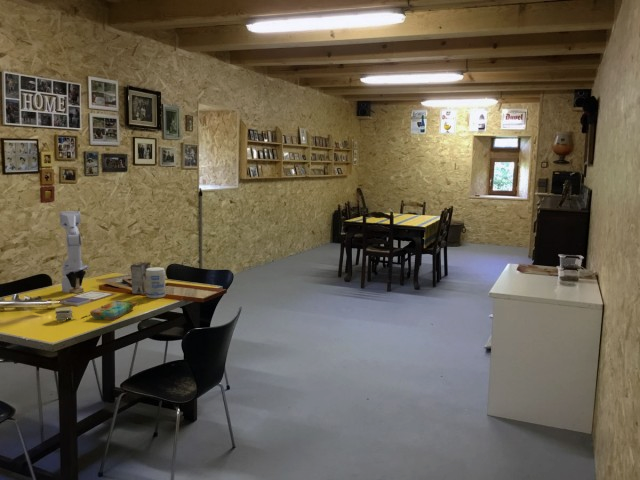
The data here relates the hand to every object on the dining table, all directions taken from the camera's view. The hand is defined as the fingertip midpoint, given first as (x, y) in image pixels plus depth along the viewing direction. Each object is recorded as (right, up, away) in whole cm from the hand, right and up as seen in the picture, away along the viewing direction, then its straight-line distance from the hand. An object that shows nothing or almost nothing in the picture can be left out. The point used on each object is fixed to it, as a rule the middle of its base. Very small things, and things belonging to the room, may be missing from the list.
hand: (76, 286), depth 264 cm
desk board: (0, -8, +11) cm, 13 cm away
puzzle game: (+24, -12, -14) cm, 30 cm away
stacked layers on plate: (+5, -14, -24) cm, 28 cm away
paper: (+2, -6, +16) cm, 17 cm away
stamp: (0, -3, +1) cm, 3 cm away
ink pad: (0, -8, +1) cm, 8 cm away
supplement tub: (+33, -7, +19) cm, 39 cm away
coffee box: (+24, -6, +25) cm, 35 cm away
